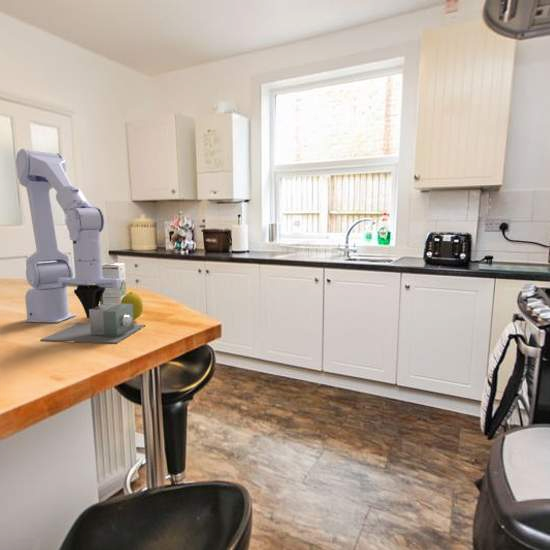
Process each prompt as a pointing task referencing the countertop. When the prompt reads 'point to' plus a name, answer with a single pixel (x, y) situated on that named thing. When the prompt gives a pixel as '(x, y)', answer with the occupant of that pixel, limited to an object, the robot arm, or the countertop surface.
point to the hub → (98, 318)
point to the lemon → (134, 300)
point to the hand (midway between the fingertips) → (91, 316)
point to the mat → (86, 334)
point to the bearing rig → (118, 320)
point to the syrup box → (111, 293)
